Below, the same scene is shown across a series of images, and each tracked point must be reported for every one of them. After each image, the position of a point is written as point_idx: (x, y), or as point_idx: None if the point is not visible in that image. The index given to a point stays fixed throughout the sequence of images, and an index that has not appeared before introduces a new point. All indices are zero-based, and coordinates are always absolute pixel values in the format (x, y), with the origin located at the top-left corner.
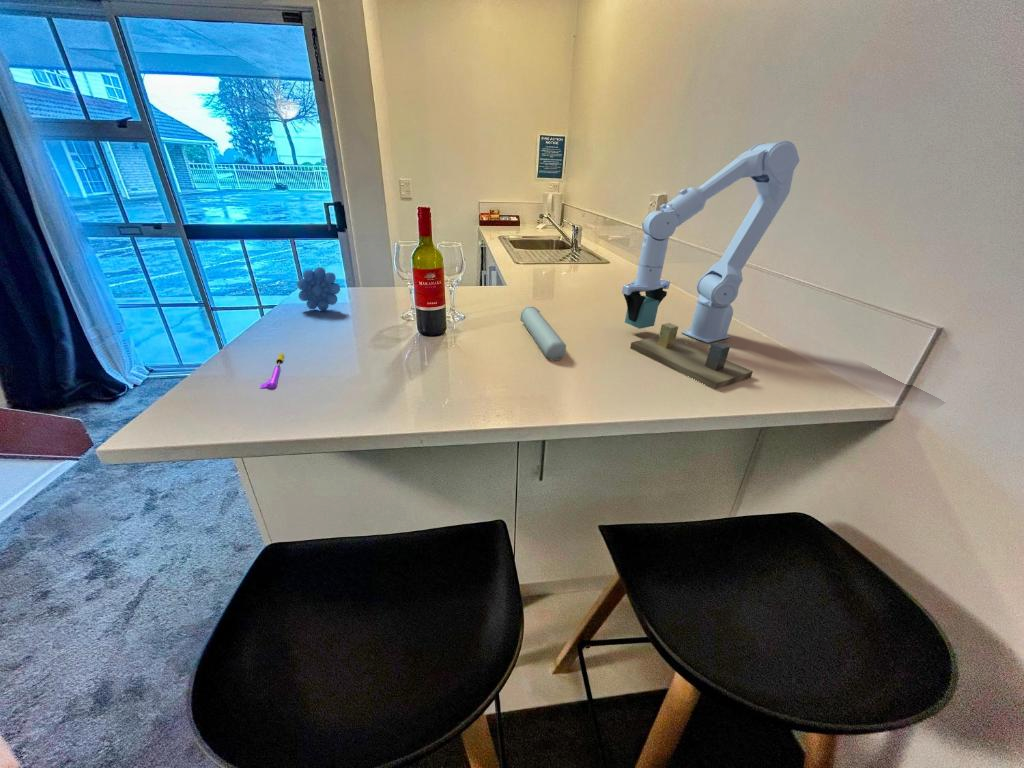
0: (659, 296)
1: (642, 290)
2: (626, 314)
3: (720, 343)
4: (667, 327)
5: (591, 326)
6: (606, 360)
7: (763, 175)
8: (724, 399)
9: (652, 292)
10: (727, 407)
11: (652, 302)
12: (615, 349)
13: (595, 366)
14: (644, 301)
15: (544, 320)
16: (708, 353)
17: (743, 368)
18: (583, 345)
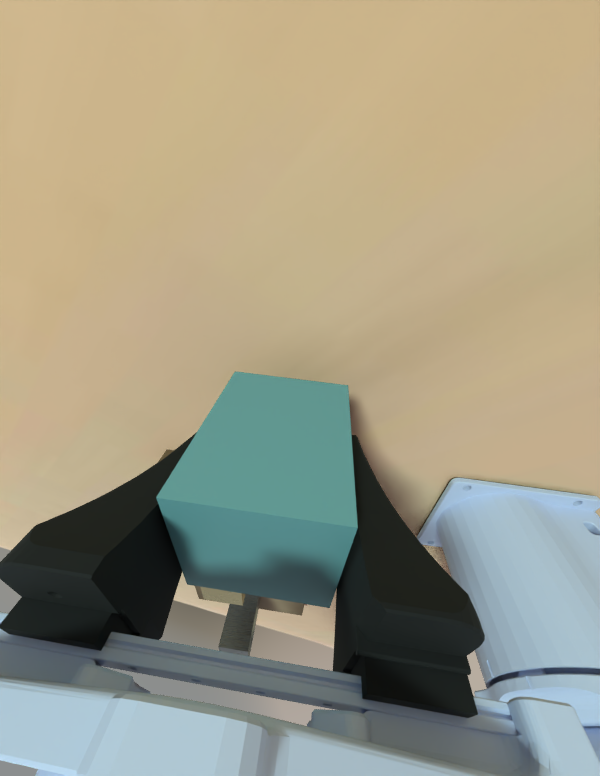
0: (335, 641)
1: (165, 668)
2: (217, 401)
3: (243, 653)
4: (203, 591)
5: (123, 181)
6: (53, 457)
7: None
8: (194, 592)
9: (349, 633)
10: (180, 596)
11: (264, 591)
12: (113, 432)
13: (11, 461)
14: (215, 575)
15: None
16: (226, 617)
17: (297, 608)
18: (3, 359)
